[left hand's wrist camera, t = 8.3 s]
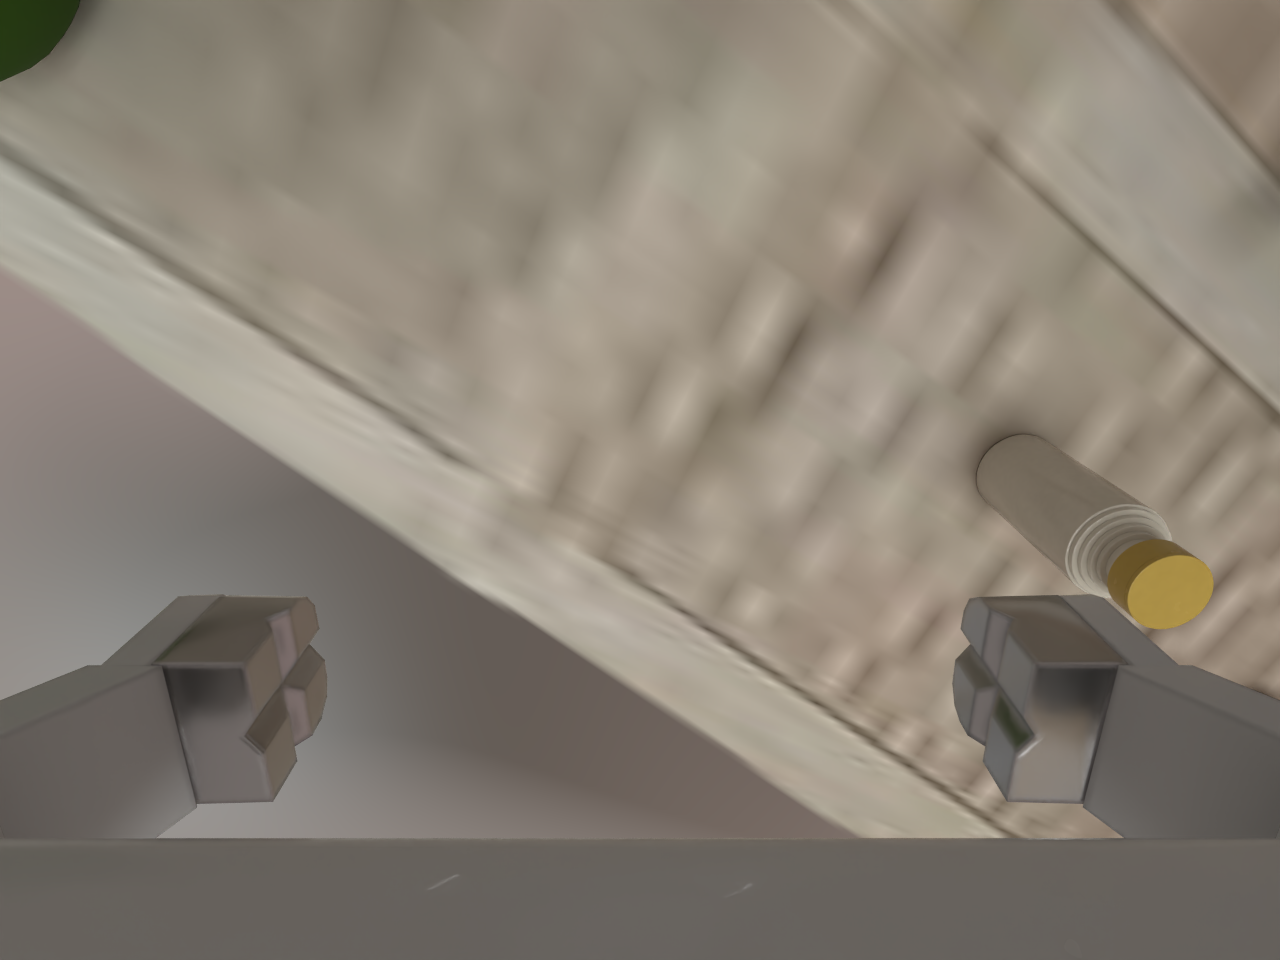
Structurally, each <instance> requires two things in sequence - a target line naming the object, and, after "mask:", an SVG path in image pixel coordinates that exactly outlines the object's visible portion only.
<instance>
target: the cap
mask: <svg viewBox="0 0 1280 960" xmlns="http://www.w3.org/2000/svg"><path fill="white" fill-rule="evenodd" d="M1107 586H1108V591H1109V594H1110V596H1111V598H1112V599H1113V600H1114V601H1115V602H1116V603H1117V604H1118V605H1119V606H1120V607H1121V608H1123V609H1124V610H1125V611H1126V612H1127V613H1128V614H1129V615H1130V616H1131V617H1133V618H1134V619H1135V620H1136V621H1137V622H1138V623H1140V624H1141V625H1144V626H1146V627H1149V628H1154V629H1168V628H1173V627H1177V626H1179V625H1182V624H1184V623H1186V622H1188V621H1190V620H1191V619H1193V618H1194V617H1195V616H1197V615H1198V614H1199V613H1200V612H1201V611H1202V610H1203V609H1204V607H1205V606H1206V605H1207V603H1208V601H1209V599H1210V597H1211V595H1212V591H1213V577H1212V573H1211V571H1210V569H1209V568H1208V567H1207V565H1206V564H1205V563H1204V562H1202V561H1201V560H1199V559H1198V558H1196V557H1195V556H1193V555H1192V554H1190V553H1189V552H1188V551H1186V550H1185V549H1183V548H1182V547H1180V546H1179V545H1177V544H1176V543H1174V542H1171V541H1168V540H1163V539H1151V540H1146V541H1142V542H1139V543H1137V544H1135V545H1133V546H1131V547H1129V548H1128V549H1126V550H1125V551H1124V552H1123V553H1121V554H1120V555H1119V557H1118V558H1117V559H1116V560H1115V561H1114V563H1113V565H1112V566H1111V568H1110V571H1109V574H1108V579H1107Z"/></svg>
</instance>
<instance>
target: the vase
mask: <svg viewBox="0 0 1280 960" xmlns="http://www.w3.org/2000/svg"><path fill="white" fill-rule="evenodd" d="M79 2H80V0H0V81H3V80H5V79H7V78H9V77H12V76H14V75H16V74H18V73H20V72H23V71H25V70H27V69H29V68H31V67H33V66H34V65H35V64H37V63H38V62H39V61H41V60H42V59H43V58H45V57H46V56H47V55H49V53H50V52H51V51H52V50H53V48H54V47H55V46H56V44H57V43H58V42H59V41H60V39H61V38H62V37H63V35H64V34H65V32H66V31H67V29H68V27H69V26H70V24H71V22H72V20H73V18H74V16H75V13H76V11H77V9H78V7H79Z"/></svg>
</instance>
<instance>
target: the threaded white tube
mask: <svg viewBox="0 0 1280 960" xmlns="http://www.w3.org/2000/svg"><path fill="white" fill-rule="evenodd" d="M976 480H977V487H978V490H979V493H980V495H981V496H982V498H983V499H984V500H985V501H986V502H987V503H988V504H989V505H990V506H991V507H992V508H993V509H994V510H995V511H997V512H998V513H999V514H1000V515H1001V516H1002V517H1003V518H1004V519H1005V520H1006V521H1007V522H1008V523H1009V524H1010V525H1011V526H1013V527H1014V528H1015V529H1016V530H1017V531H1018V532H1019V533H1020V534H1021V535H1022V536H1023V537H1024V538H1025V539H1026V540H1027V541H1029V542H1030V543H1031V544H1032V545H1033V546H1034V547H1035V548H1036V549H1037V550H1038V551H1039V552H1040V553H1041V554H1042V555H1044V556H1045V557H1046V558H1047V559H1048V560H1049V561H1050V562H1051V563H1052V564H1053V565H1054V566H1055V567H1056V568H1057V569H1058V570H1060V571H1061V572H1062V573H1063V574H1064V575H1065V576H1066V577H1067V578H1068V579H1069V580H1070V581H1071V582H1072V583H1073V584H1075V585H1076V586H1077V587H1078V588H1079V589H1081V590H1082V591H1084V592H1086V593H1088V594H1093V595H1096V596H1100V597H1104V598H1111V596H1110V594H1109V591H1108V586H1107V579H1108V574H1109V571H1110V568H1111V566H1112V565H1113V563H1114V561H1115V560H1116V559H1117V558H1118V557H1119V555H1120V554H1121V553H1123V552H1124V551H1125V550H1126V549H1128V548H1129V547H1131V546H1133V545H1135V544H1137V543H1139V542H1142V541H1146V540H1151V539H1163V540H1168V541H1171V542H1172V538H1171V534H1170V531H1169V529H1168V527H1167V525H1166V523H1165V521H1164V520H1163V518H1162V517H1161V516H1160V515H1159V514H1158V513H1157V512H1155V511H1154V510H1152V509H1151V508H1149V507H1148V506H1146V505H1144V504H1143V503H1141V502H1140V501H1138V500H1137V499H1135V498H1134V497H1132V496H1131V495H1129V494H1127V493H1126V492H1124V491H1123V490H1121V489H1120V488H1118V487H1117V486H1115V485H1114V484H1112V483H1110V482H1109V481H1107V480H1106V479H1104V478H1103V477H1101V476H1100V475H1098V474H1097V473H1095V472H1093V471H1092V470H1090V469H1089V468H1087V467H1086V466H1084V465H1083V464H1081V463H1080V462H1078V461H1077V460H1075V459H1073V458H1072V457H1070V456H1069V455H1067V454H1066V453H1064V452H1063V451H1061V450H1060V449H1058V448H1056V447H1055V446H1053V445H1052V444H1050V443H1049V442H1047V441H1046V440H1044V439H1042V438H1040V437H1037V436H1034V435H1025V434H1023V435H1016V436H1011V437H1008V438H1006V439H1004V440H1002V441H1000V442H998V443H997V444H995V445H994V446H993V447H992V448H991V449H990V450H989V451H988V452H987V453H986V454H985V455H984V457H983V458H982V460H981V462H980V464H979V467H978V471H977V479H976Z"/></svg>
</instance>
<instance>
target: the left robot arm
mask: <svg viewBox="0 0 1280 960" xmlns="http://www.w3.org/2000/svg"><path fill="white" fill-rule="evenodd" d="M318 630H319V625H318V620H317V615H316V610H315V605H314V604H313V603H312V602H311V601H310V600H309V598H308V597H296V596H241V595H229V596H226V595H223V594H217V595H188V596H178V597H177V598H176V599H175V600H174V601H173V602H172V603H170V604H169V605H168V606H167V607H166V608H165V609H164V610H163V611H161V612H160V613H159V614H158V615H157V616H156V617H155V618H154V619H152V620H151V621H150V622H149V623H148V624H147V625H146V626H145V627H144V628H142V629H141V630H140V631H139V632H138V633H137V634H136V635H135V636H133V637H132V638H131V639H130V640H129V641H128V642H127V643H126V644H125V645H123V646H122V647H121V648H120V649H119V650H118V651H117V652H115V653H114V654H113V655H112V656H111V657H110V658H109V659H108V660H107V661H105V662H104V663H103V664H102V665H89V666H85V667H82V668H80V669H77V670H75V671H72V672H70V673H67V674H65V675H62V676H60V677H57V678H55V679H52V680H50V681H47V682H45V683H43V684H40V685H37V686H35V687H32V688H30V689H28V690H25V691H22V692H20V693H17V694H15V695H13V696H10V697H8V698H5V699H3V700H0V960H1280V700H1277V699H1275V698H1272V697H1270V696H1267V695H1265V694H1262V693H1260V692H1257V691H1255V690H1252V689H1250V688H1247V687H1245V686H1242V685H1240V684H1237V683H1235V682H1232V681H1230V680H1228V679H1225V678H1223V677H1220V676H1218V675H1215V674H1213V673H1210V672H1208V671H1205V670H1203V669H1200V668H1198V667H1195V666H1193V665H1178V664H1177V663H1176V662H1175V661H1174V660H1172V659H1171V658H1170V657H1169V656H1168V655H1167V654H1166V653H1165V652H1163V651H1162V650H1161V649H1160V648H1159V647H1158V646H1157V645H1156V644H1155V643H1153V642H1152V641H1151V640H1150V639H1149V638H1148V637H1147V636H1146V635H1144V634H1143V633H1142V632H1141V631H1140V630H1139V629H1138V628H1137V627H1136V626H1134V625H1133V624H1132V623H1131V622H1130V621H1129V620H1128V619H1127V618H1126V617H1124V616H1123V615H1122V614H1121V613H1120V612H1119V611H1118V610H1117V609H1115V608H1114V607H1113V606H1112V605H1111V604H1110V603H1109V602H1108V601H1107V600H1105V599H1104V598H1103V597H1100V596H1096V595H1093V594H1084V595H1062V596H1059V595H1041V596H1000V597H976V598H970V599H969V601H968V603H967V605H966V607H965V609H964V613H963V618H962V624H961V630H962V632H963V633H964V635H965V636H966V638H967V639H968V641H969V643H970V645H969V646H968V647H967V648H966V649H965V650H964V651H963V652H962V654H961V655H960V656H959V657H958V658H957V659H956V660H955V667H954V675H953V683H952V684H953V694H954V704H955V708H956V711H957V714H958V717H959V720H960V723H961V724H962V726H963V728H964V730H965V731H966V733H967V735H968V736H970V737H971V738H973V739H974V740H976V741H978V742H979V743H981V744H982V745H984V746H985V751H984V757H983V762H984V764H985V766H986V767H987V769H988V771H989V772H990V774H991V776H992V777H993V779H994V781H995V782H996V784H997V786H998V787H999V789H1000V791H1001V792H1002V794H1003V796H1004V797H1005V799H1006V801H1007V802H1033V803H1070V804H1083V808H1085V809H1086V810H1087V811H1089V812H1090V813H1091V814H1093V815H1094V816H1095V817H1097V818H1098V819H1099V820H1101V821H1102V822H1103V823H1105V824H1106V825H1107V826H1109V827H1110V828H1112V829H1113V830H1114V831H1116V832H1117V833H1118V834H1120V835H1121V836H1122V837H1124V838H157V837H158V836H159V835H161V834H162V833H163V832H165V831H166V830H167V829H169V828H170V827H171V826H173V825H174V824H175V823H177V822H178V821H180V820H181V819H182V818H183V817H185V816H186V815H188V814H189V813H190V812H192V811H193V810H194V809H196V808H197V804H209V803H245V802H273V801H274V799H275V797H276V796H277V794H278V792H279V791H280V789H281V787H282V786H283V784H284V782H285V781H286V779H287V777H288V776H289V774H290V772H291V771H292V769H293V767H294V765H295V764H296V762H297V757H296V751H295V746H296V745H298V744H299V743H301V742H302V741H304V740H306V739H307V738H309V737H310V736H312V735H313V733H314V731H315V729H316V728H317V726H318V724H319V722H320V721H321V718H322V714H323V710H324V706H325V702H326V698H327V673H326V666H325V660H324V659H323V658H322V657H321V656H320V655H319V654H318V653H317V652H316V650H315V649H314V648H313V647H312V646H311V645H310V643H311V641H312V639H313V638H314V636H315V635H316V633H317V632H318Z"/></svg>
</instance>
